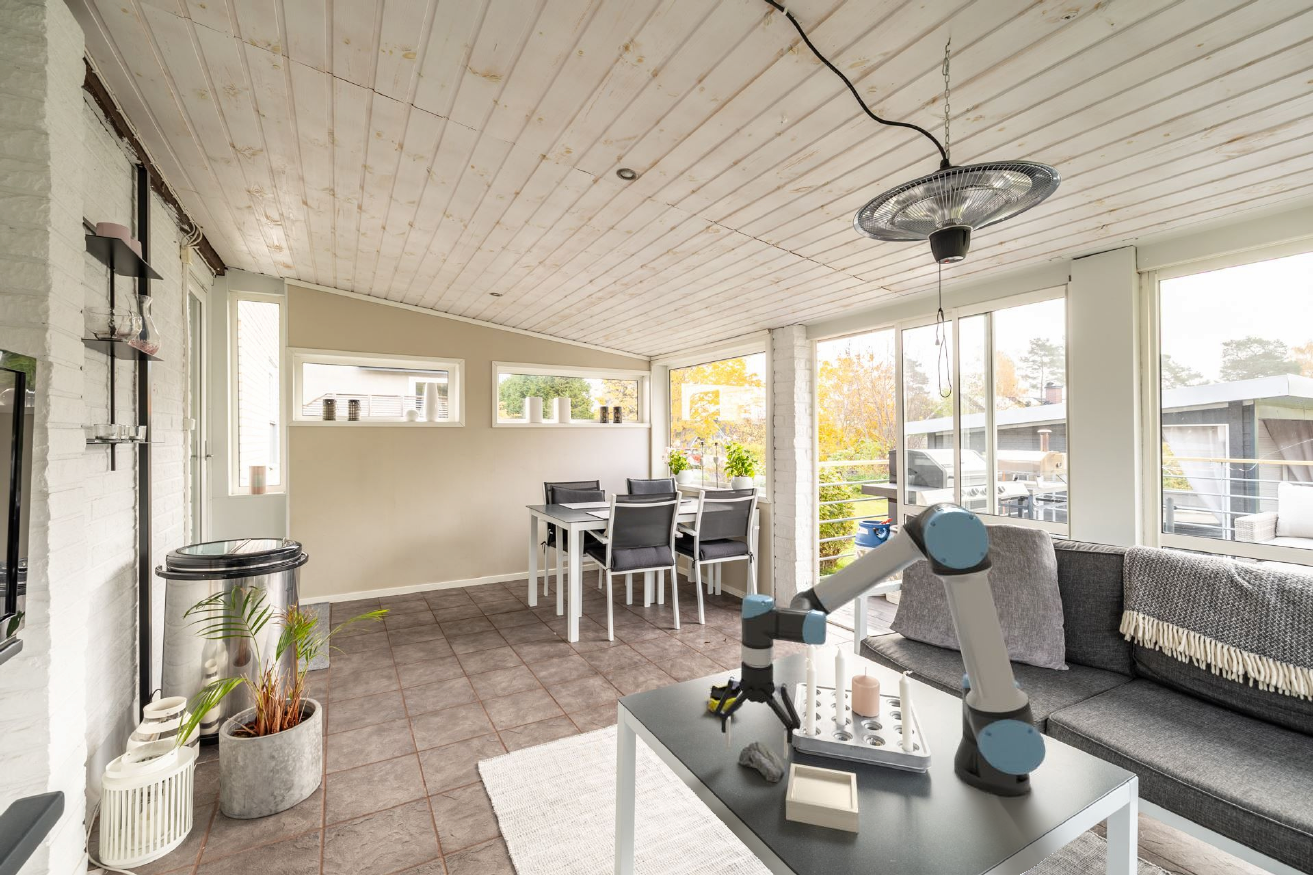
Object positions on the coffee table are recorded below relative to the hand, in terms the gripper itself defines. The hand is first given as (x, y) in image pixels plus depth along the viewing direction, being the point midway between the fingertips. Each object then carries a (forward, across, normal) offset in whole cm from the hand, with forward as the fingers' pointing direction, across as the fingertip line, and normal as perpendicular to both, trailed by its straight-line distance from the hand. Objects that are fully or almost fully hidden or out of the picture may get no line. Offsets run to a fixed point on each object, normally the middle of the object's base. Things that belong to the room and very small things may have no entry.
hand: (756, 750), depth 138 cm
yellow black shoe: (+4, +13, -29) cm, 32 cm away
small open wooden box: (+4, -15, +10) cm, 19 cm away
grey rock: (+4, -1, 0) cm, 5 cm away
